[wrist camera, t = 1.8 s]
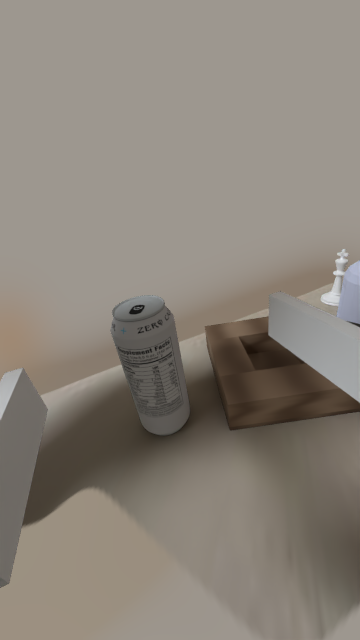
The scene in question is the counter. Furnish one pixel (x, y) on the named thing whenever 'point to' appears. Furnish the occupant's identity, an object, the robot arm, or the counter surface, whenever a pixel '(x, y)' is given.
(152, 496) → the counter surface
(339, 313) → the soap bottle
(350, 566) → the counter surface
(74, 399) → the counter surface
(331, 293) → the chess piece
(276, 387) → the holder block
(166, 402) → the energy drink can
